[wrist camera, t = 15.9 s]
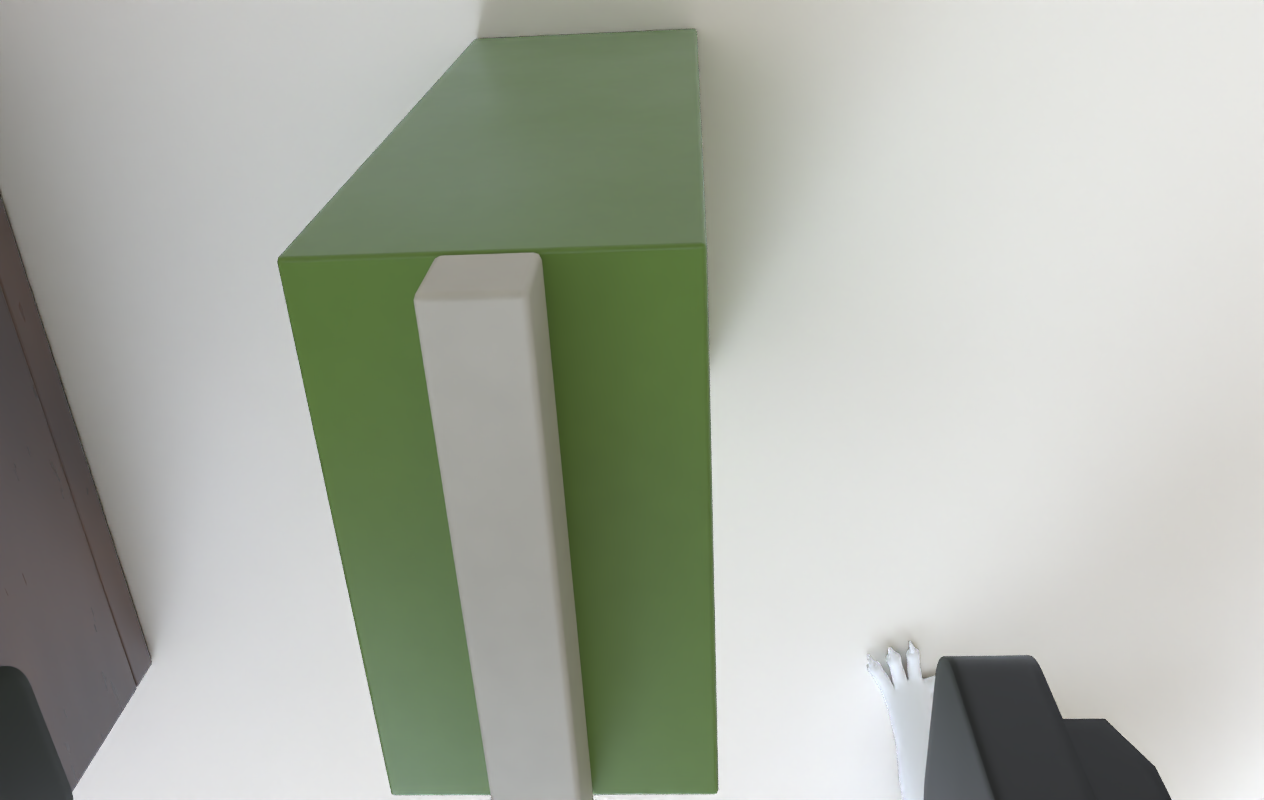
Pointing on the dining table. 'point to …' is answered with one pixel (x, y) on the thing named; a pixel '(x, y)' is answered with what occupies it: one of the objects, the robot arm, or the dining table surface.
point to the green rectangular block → (525, 421)
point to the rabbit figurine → (907, 716)
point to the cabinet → (56, 545)
